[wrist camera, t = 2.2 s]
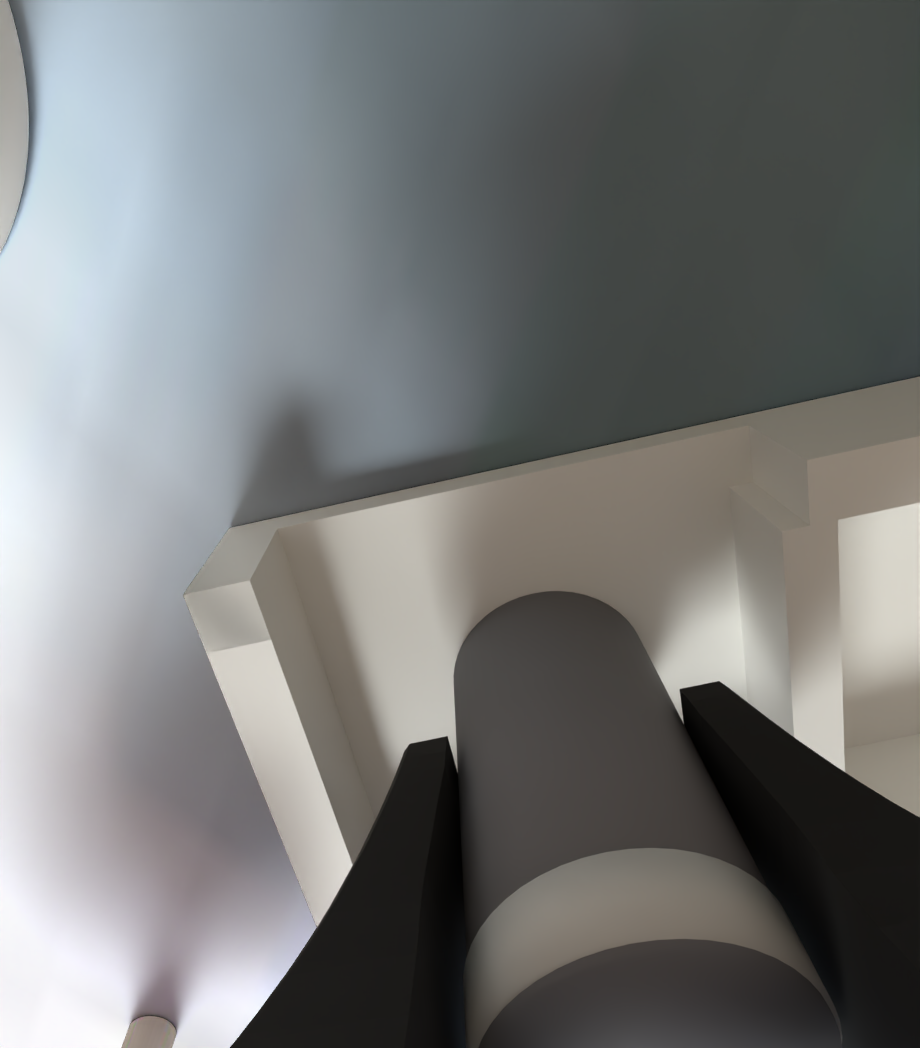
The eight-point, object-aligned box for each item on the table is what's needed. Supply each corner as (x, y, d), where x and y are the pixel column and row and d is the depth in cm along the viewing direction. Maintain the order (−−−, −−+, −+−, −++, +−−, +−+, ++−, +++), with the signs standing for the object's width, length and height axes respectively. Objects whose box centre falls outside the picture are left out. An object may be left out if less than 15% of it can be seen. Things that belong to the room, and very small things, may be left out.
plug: (659, 737, 14) (851, 1161, 8) (473, 774, 14) (507, 1218, 8) (635, 569, 13) (843, 910, 6) (430, 612, 13) (427, 987, 7)
